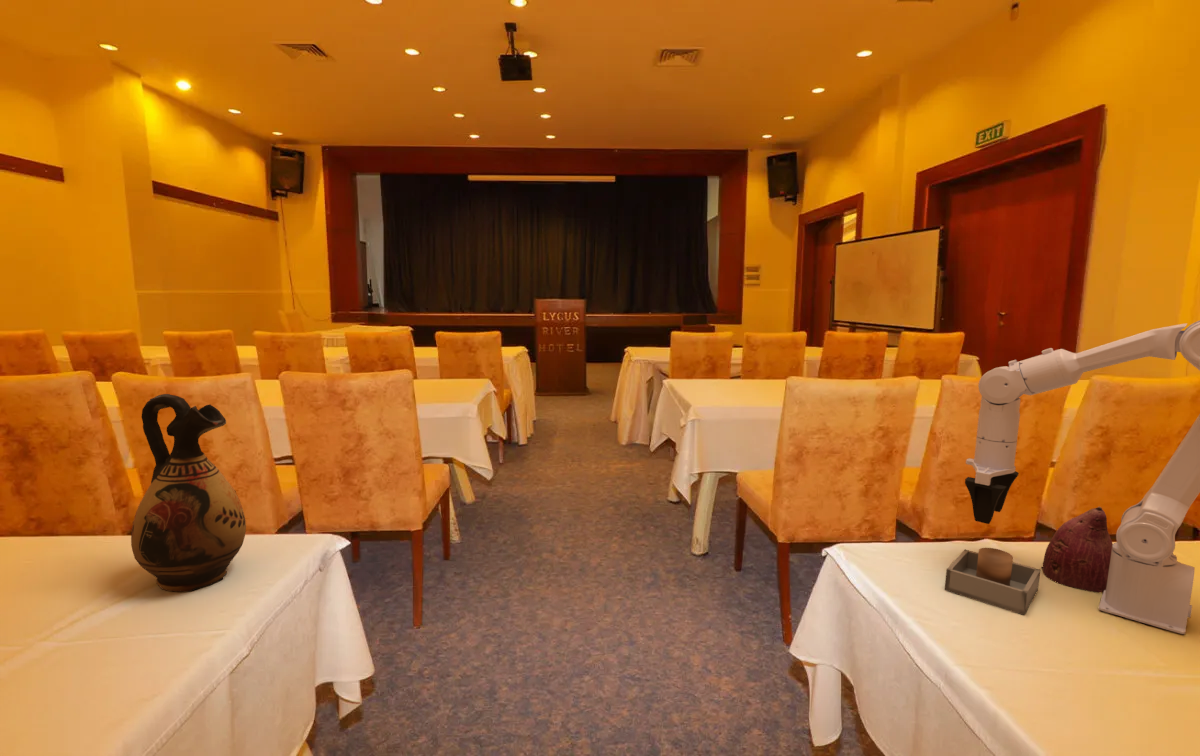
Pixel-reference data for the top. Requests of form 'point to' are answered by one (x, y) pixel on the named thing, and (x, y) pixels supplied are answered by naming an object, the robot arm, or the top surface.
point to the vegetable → (1080, 552)
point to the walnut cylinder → (994, 565)
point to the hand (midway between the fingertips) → (988, 516)
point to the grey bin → (992, 584)
